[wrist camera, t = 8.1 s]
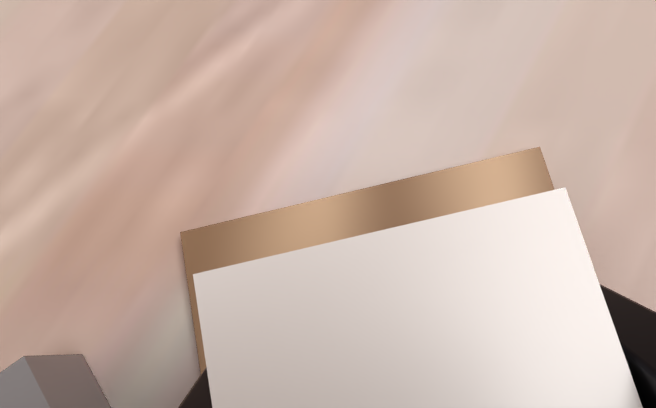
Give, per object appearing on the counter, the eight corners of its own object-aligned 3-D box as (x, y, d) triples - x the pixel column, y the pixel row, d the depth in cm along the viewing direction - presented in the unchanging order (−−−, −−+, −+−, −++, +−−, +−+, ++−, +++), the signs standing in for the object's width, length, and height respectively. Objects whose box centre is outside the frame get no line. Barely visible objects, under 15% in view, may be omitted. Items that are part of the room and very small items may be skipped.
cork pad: (535, 153, 18) (539, 146, 18) (672, 556, 15) (683, 564, 14) (186, 235, 19) (180, 232, 18) (246, 642, 15) (241, 653, 15)
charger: (466, 276, 16) (565, 186, 7) (520, 461, 14) (721, 633, 6) (298, 314, 16) (192, 273, 7) (335, 500, 15) (259, 724, 6)
